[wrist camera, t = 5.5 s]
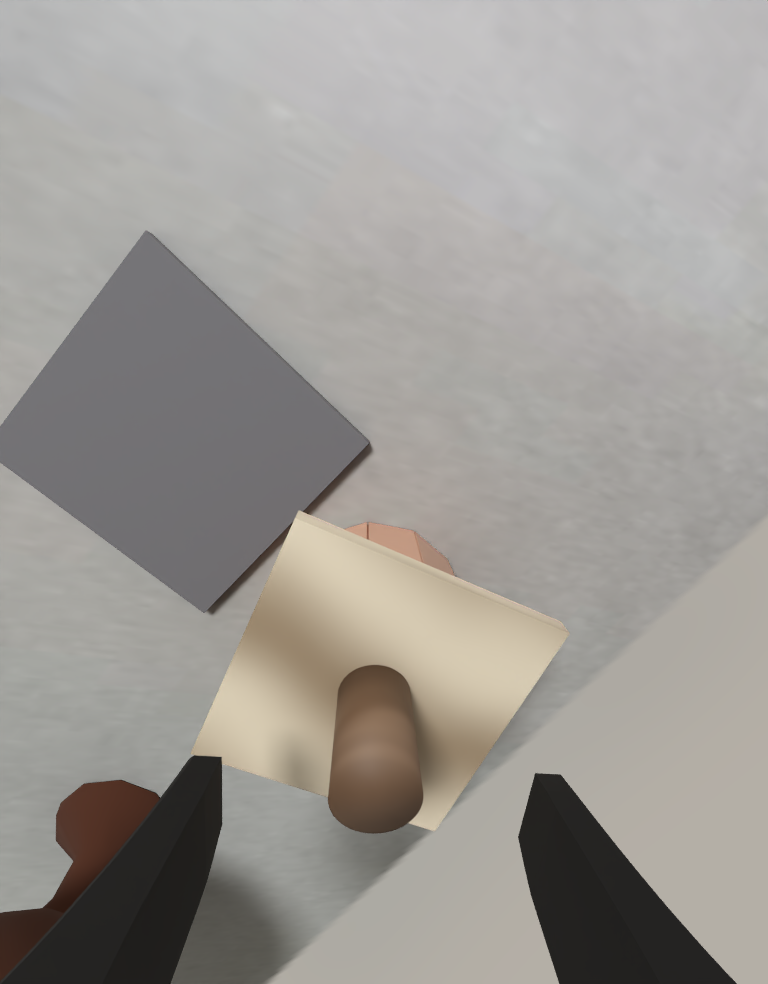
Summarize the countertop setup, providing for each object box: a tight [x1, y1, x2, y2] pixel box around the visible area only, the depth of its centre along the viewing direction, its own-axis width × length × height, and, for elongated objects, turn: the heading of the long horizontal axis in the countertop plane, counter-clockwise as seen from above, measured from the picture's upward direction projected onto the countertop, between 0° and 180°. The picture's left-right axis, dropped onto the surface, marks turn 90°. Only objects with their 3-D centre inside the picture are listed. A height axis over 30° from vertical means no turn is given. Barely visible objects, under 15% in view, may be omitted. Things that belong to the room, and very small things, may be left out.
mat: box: [0, 231, 369, 613], centre depth 15 cm, size 10×10×1 cm
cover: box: [191, 511, 570, 833], centre depth 12 cm, size 9×9×4 cm
